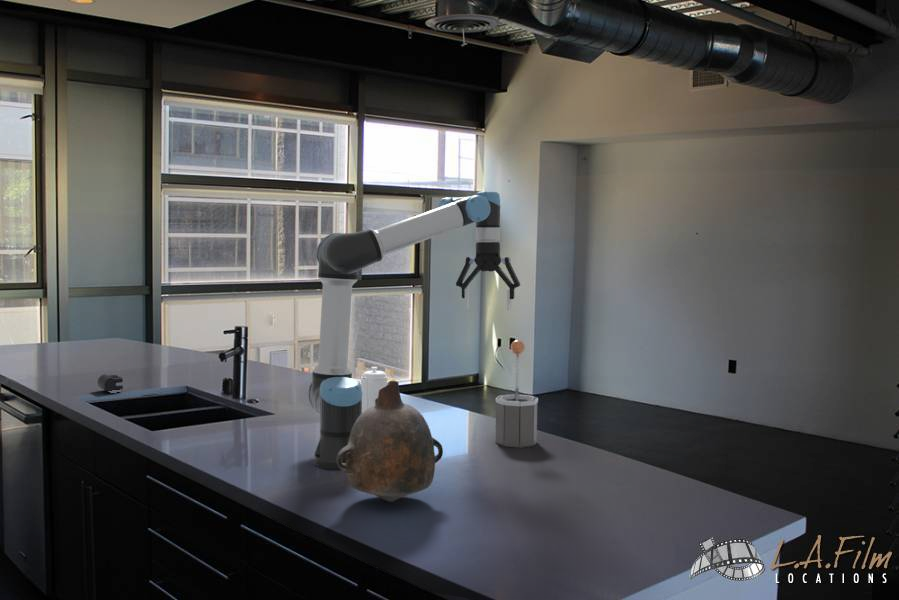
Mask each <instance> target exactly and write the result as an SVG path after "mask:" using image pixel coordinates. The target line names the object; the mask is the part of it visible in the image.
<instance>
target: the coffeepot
mask: <svg viewBox="0 0 899 600" xmlns="http://www.w3.org/2000/svg"><path fill="white" fill-rule="evenodd" d="M377 369H378V366H371V370H367V371H365V372H363V373H362V375H361V376H360V384H361V387H362V394H363V395H362V413H363V412H364V411H365V410H366V409H368V408H369V407H371V406H373V405H375V400H376V398H378V395H379V390H380V389H381V388H383V387H385V386H386V385H387V384H388V379H389V378H388V375H387V374H386V372H385V371H383V370H377Z"/></svg>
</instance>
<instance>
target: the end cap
mask: <svg viewBox="0 0 899 600" xmlns="http://www.w3.org/2000/svg"><path fill="white" fill-rule="evenodd" d="M123 382H124V381H123V377H121V376H119V375H117V374H110V375H107V374H101V375H99V377H98V378H97V386H98V387H99V388H100V389H101V390H103V389H104V390H103V391H105V390H106V391H105V392H107V391H112V390H120V389H122V390H123V389H124V385H117V384H118V383H120V384H121V383H123Z"/></svg>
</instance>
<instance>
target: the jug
mask: <svg viewBox="0 0 899 600" xmlns="http://www.w3.org/2000/svg"><path fill="white" fill-rule="evenodd" d="M399 386H400V385H399V381H396V380H394V379H391V380H389V381H387V385H386V386H385V387H383V388H381V389H380V390H379V395H378V398H376V400H375V405H373V406H371V407H369V408H368V409H366V410H365V411H364V412H363V413H362V414H361V415H360V416H359V417H358V418H357V420H356V422H355V424H354V426H353V428H352V430H351V433H350V437H349V441H348V445H347V446H345V447H344V448H343V449H341V450H340V451H339V453H338V455H337V459H336V462H337V465H338V467H339V468H340V469H341V471H343V472H345V475H346V478H347V482H348V484H349V485H350V486H351V487H352V488H353V489H355V490H357V491H359V492H361V493H365V494H367V495H368V494H369V495H373V496H376V497H378V498H380V499H382V500H384V501H386V502H390V503H393V502H395V501H397V500H399V499H402V498H404V497H406V496H409V495H413V494H416V493H419V492H422V491H424V490H426V489H428V488H429V487H430V486H431V485H432V483H433V481H434V478H435V477H434V476H435V470H436V468H435V467H436V464H437V462H439V461H440V460H441V459H442V457H443V453H444V450H443V449H444V448H443V446H442V444H441V442H440V441H438V440H437V439H436V438H434V437H432V432H431V428H430V427H429V425H428V422H427V420H426V419H425V417H424V416H423V415H422V413H421V412H419V410H418V409H417V408H415V407H413V406H412V405H410V404H408V403H404V402H403V400H402V398H401V392H400V387H399ZM435 447H436V448H437V452H438V453H437V454H436V455H435ZM344 455H346V463H342V457H343V456H344Z"/></svg>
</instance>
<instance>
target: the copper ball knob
mask: <svg viewBox="0 0 899 600" xmlns="http://www.w3.org/2000/svg"><path fill="white" fill-rule="evenodd" d="M510 350H511V353H513V354H515V388H514V389H515V391H514V392H515V393H514V394H515V401H518V397H519V395H520V394H519V393H520V392H519V387H520V384H519V383H520V381H519V380H520V379H519V378H520V372H519V371H520V355H521V354H523V352H524V351H525V350H526V349H525V343H524V342H523V341H522V340H519V339H516V340H514V341H512V342H511V344H510Z"/></svg>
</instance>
